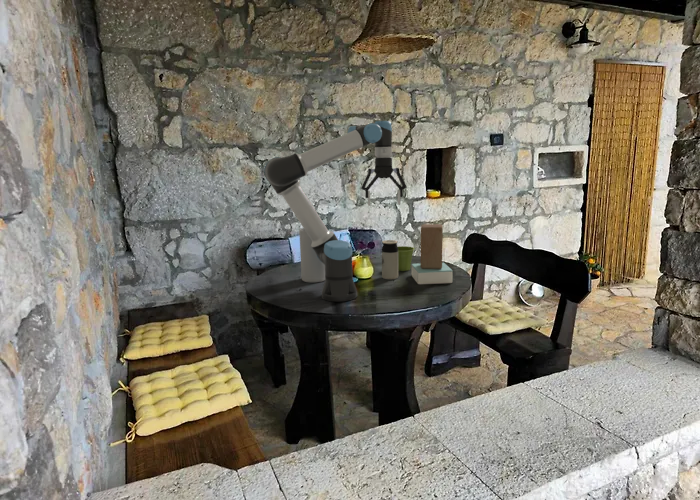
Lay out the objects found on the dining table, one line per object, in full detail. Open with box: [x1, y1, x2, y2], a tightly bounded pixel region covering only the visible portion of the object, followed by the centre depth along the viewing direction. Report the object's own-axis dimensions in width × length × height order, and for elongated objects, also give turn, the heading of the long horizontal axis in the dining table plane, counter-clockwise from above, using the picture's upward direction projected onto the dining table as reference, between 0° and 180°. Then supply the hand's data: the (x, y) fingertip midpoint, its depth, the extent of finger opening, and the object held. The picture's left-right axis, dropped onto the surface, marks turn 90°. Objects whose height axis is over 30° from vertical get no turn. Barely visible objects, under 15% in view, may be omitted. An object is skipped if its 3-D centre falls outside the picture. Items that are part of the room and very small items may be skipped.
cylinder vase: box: [298, 227, 325, 284], centre depth 227 cm, size 12×12×25 cm
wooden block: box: [420, 223, 444, 269], centre depth 221 cm, size 10×10×20 cm
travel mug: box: [381, 239, 399, 280], centre depth 228 cm, size 8×8×18 cm
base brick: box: [411, 262, 454, 285], centre depth 224 cm, size 16×16×6 cm
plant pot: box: [397, 245, 415, 272], centre depth 244 cm, size 12×12×11 cm
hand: (383, 205), depth 212 cm, fingers open, 13 cm apart
